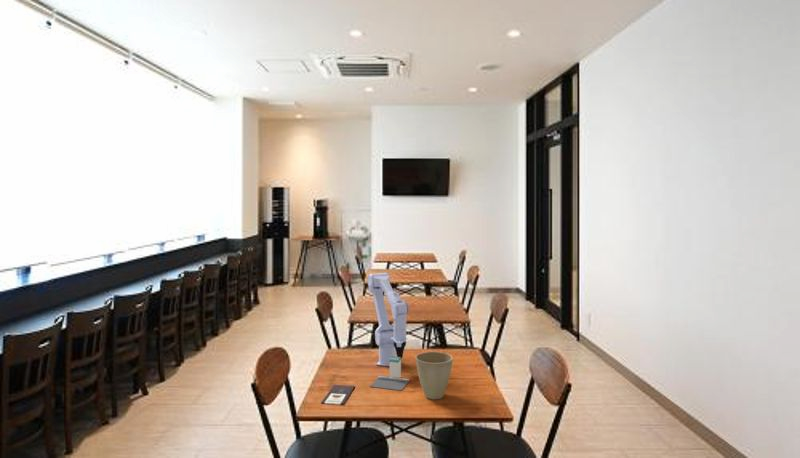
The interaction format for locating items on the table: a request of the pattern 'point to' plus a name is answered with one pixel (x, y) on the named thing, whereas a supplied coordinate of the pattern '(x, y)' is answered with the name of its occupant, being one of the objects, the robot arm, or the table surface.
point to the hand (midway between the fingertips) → (399, 358)
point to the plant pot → (434, 373)
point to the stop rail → (393, 378)
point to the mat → (389, 384)
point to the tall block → (395, 367)
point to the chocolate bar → (338, 395)
